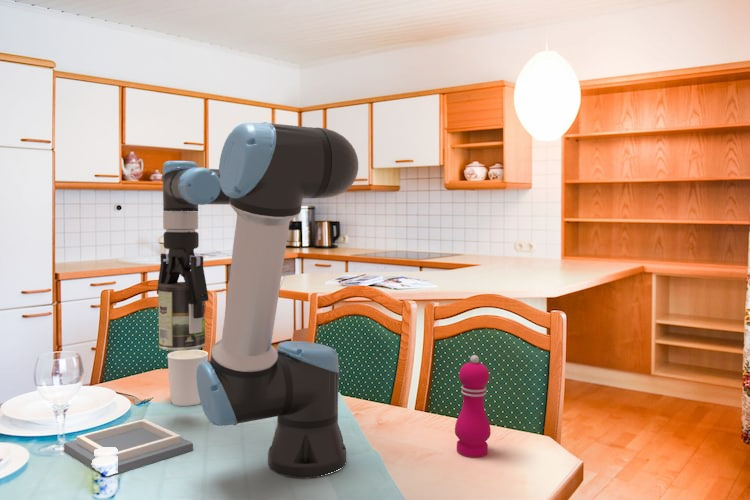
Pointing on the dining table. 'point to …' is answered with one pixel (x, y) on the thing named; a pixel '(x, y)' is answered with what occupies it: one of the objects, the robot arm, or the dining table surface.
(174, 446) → the grey square tray
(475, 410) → the pepper mill
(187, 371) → the candle holder
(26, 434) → the dining table surface
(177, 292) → the coffee can
